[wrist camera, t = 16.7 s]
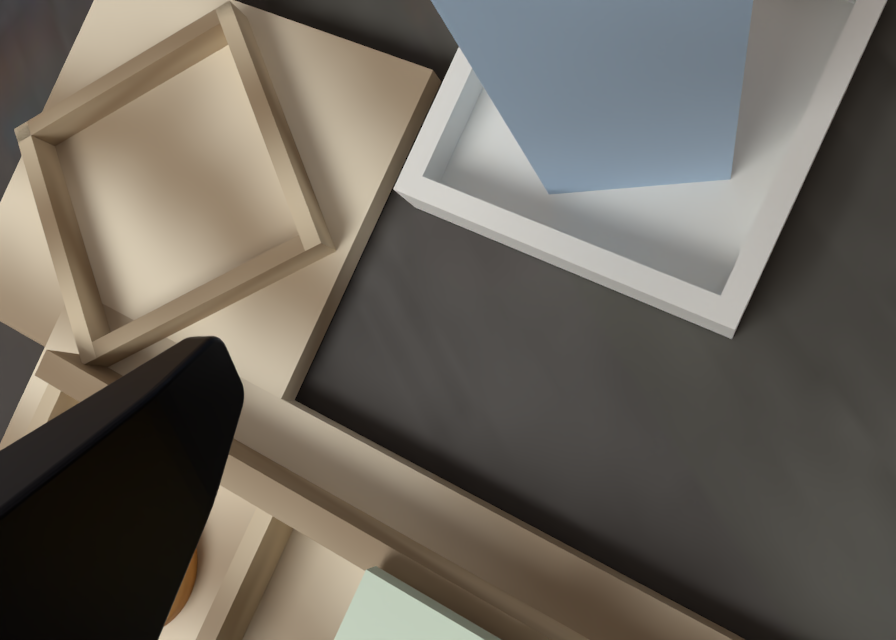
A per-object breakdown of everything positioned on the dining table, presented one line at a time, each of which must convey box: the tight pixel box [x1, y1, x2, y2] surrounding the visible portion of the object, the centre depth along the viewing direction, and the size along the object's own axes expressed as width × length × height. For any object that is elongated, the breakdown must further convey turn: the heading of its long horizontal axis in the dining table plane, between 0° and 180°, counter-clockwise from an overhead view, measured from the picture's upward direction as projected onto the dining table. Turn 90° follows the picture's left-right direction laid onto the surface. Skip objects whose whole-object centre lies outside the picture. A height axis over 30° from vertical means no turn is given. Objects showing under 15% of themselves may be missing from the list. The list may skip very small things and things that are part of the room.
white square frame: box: [393, 0, 888, 339], centre depth 21 cm, size 9×9×2 cm
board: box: [0, 0, 745, 640], centre depth 22 cm, size 22×27×2 cm
